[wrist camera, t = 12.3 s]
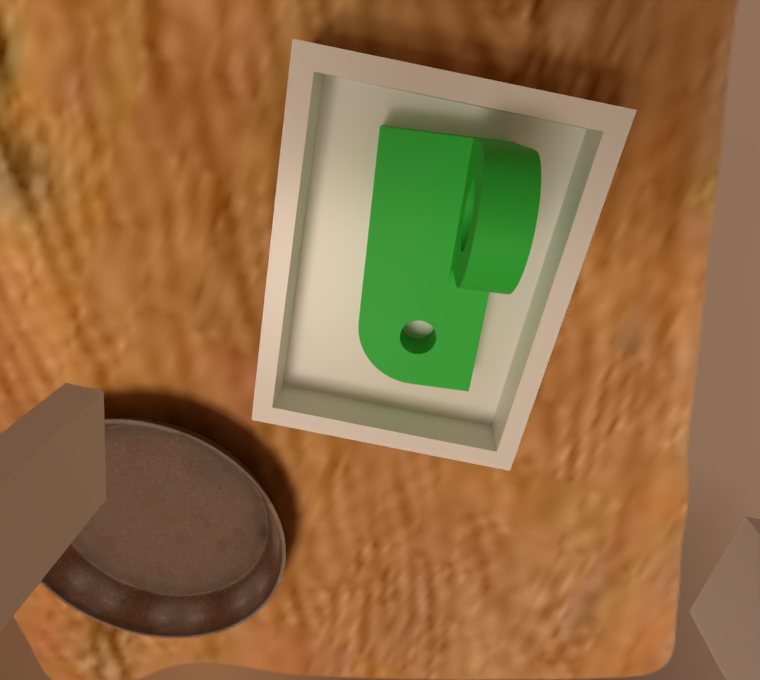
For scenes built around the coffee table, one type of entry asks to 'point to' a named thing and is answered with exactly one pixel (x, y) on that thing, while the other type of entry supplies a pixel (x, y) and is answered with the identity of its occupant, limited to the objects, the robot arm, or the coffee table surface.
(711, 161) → the coffee table surface
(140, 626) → the plant saucer
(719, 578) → the robot arm
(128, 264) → the coffee table surface
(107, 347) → the coffee table surface
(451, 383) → the mechanical part
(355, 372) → the tray
